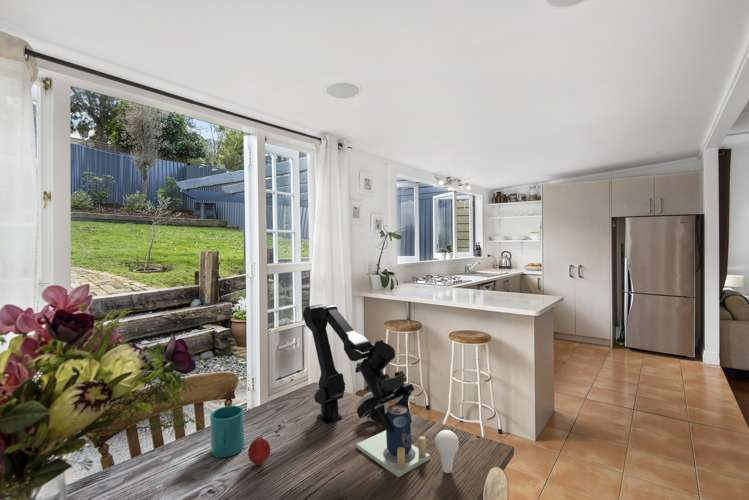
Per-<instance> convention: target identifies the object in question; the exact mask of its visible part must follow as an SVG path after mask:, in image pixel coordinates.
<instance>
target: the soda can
mask: <svg viewBox="0 0 749 500" xmlns="http://www.w3.org/2000/svg"><path fill="white" fill-rule="evenodd" d="M386 415H387V417H388V419H389V421H390V423H391V425H392V427H393V429H394V432H393V433H390V432H389V431H388V430H386V429H385V431H386V439H387V449H388V451H389V452H390V454H391V455H393V456H396V457H397V448H398V447H403V448H405V456H406V455H407V454H408V453H409V452H410V450H411V447H412V445H413V444H412V428H411V427H412V425H411V424H412V423H411V422H410V416H411V412H410V413H409V412H408V408H407V407H406V406H404V405H395V404H393V405H392V404H391V405H389V406H388V409H387V413H386ZM411 444H412V445H411Z"/></svg>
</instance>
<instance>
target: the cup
mask: <svg viewBox="0 0 749 500" xmlns="http://www.w3.org/2000/svg"><path fill="white" fill-rule="evenodd" d="M243 408H244V407H242V406H238V405H227V406H221V407H219V408H216V409H215V410H213V411H212V412H211V413H210V416H209V417H210V420H209V421H210V422H209V423H210V445H211V449H210V450H211V454H212V456H214V457H216V458H220V457H221V458H222V459H223V458H224V459H225V458H229V457H232V456H235V455H238V454H239V453H240V452H241V451H242V450H244V446H245V427H244V426H245V425H244V423H245V422H244V418H245V417H244V409H243ZM221 458H220V459H221Z"/></svg>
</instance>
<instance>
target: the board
mask: <svg viewBox="0 0 749 500" xmlns="http://www.w3.org/2000/svg"><path fill="white" fill-rule="evenodd" d="M417 440H418V446H415V445H414V444H412V443H411V445H412V447H411V450H410V452H409V453H408V454H407V455H406V456H405V448H403V447H398V448H397V457H396V456H393V455H391V454H390V452H389V451H388V449H387V439H386V430H383V431H381V432H378V433H377V434H374V435H373V436H370V437H368V438H366V439H364V440H361V441H359V442H357V443H356V449H358V451H361V452H362V453H363V454H365V455H366V456H368V457H369V458H370V459H372V460H373V461H374V462H376V463H378V464H379V465H380V466H382V467H383V468H384V469H386V470H387V471H389V472H390V473H391V474H393V475H395V476H396V477H397V478H400V477H402V476H403V475H405V474H406V473H408V472H411V471H412V470H413V469H416V468H417V467H419V466H420V465H423V464H424V463H426V462H428V461H430V460H431V455H430V454H429V453H428V452H427V444H426V443H427V442H426V441H427V440H426V437H425V436H418V439H417Z"/></svg>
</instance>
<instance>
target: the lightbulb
mask: <svg viewBox="0 0 749 500" xmlns="http://www.w3.org/2000/svg"><path fill="white" fill-rule="evenodd" d="M434 445H435V447H436V450H437V452H438V453H439V457H440V462H441V467H442V468H441V469H442V471H443V472H444V473H446V474H450V473H452V471H453V467H454V466H453V464H454V459H455V456H456V454H457V452H458V450H459V448H460V441H459V439H458V436H457V435H456V434H455V432H453V431H451V430H449V429H443V430H441V431H439V432H438V433H437V434H436V436H435V439H434Z"/></svg>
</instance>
